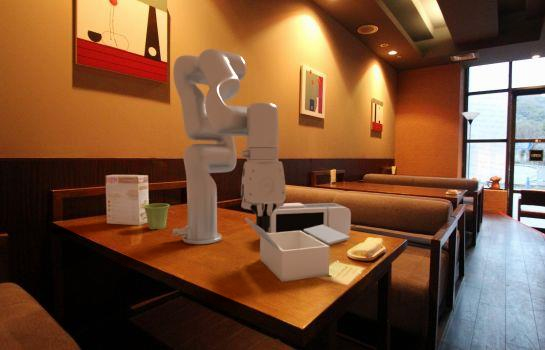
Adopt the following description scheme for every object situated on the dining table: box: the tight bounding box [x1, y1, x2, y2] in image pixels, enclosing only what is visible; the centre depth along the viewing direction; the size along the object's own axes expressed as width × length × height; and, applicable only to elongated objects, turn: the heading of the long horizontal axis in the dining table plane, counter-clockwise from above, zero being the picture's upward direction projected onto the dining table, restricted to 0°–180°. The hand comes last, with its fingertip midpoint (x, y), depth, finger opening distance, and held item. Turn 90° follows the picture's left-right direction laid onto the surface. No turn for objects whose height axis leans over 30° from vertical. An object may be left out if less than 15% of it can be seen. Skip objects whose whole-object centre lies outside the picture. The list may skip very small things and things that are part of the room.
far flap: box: [304, 225, 352, 246], centre depth 84 cm, size 6×14×1 cm, turn 20°
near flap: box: [244, 217, 279, 249], centre depth 78 cm, size 6×14×1 cm
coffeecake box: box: [105, 174, 150, 226], centre depth 129 cm, size 15×7×20 cm, turn 77°
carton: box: [259, 231, 330, 283], centre depth 81 cm, size 12×16×7 cm
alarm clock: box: [267, 202, 352, 241], centre depth 108 cm, size 27×9×12 cm, turn 104°
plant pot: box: [143, 203, 171, 230], centre depth 121 cm, size 9×9×9 cm
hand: (263, 231), depth 78 cm, fingers closed
